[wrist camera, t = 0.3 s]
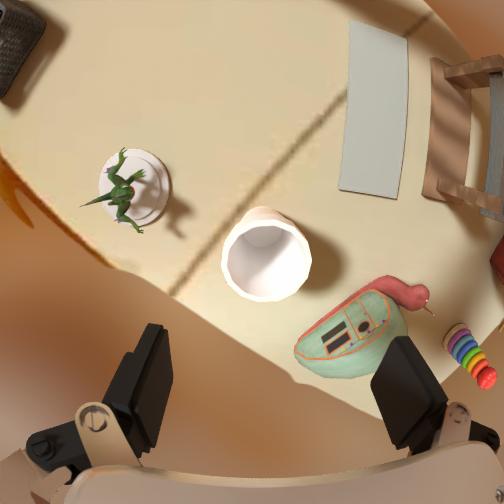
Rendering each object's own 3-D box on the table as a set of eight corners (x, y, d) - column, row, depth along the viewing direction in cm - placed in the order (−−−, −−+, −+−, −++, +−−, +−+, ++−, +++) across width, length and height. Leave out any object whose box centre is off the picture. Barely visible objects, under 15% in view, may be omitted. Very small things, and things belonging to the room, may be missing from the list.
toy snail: (308, 357, 50) (321, 412, 37) (284, 337, 48) (293, 395, 35) (411, 279, 44) (450, 320, 31) (394, 251, 42) (438, 290, 29)
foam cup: (254, 183, 38) (256, 200, 26) (306, 218, 40) (329, 251, 28) (218, 235, 41) (205, 274, 29) (268, 267, 43) (275, 315, 31)
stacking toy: (436, 348, 51) (472, 401, 34) (452, 321, 48) (494, 372, 31) (455, 347, 52) (489, 395, 34) (469, 322, 49) (509, 368, 31)
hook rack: (430, 58, 29) (491, 40, 14) (465, 77, 29) (525, 70, 14) (421, 194, 38) (485, 222, 23) (456, 203, 38) (516, 231, 23)
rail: (487, 57, 18) (500, 54, 15) (498, 66, 18) (511, 64, 15) (479, 213, 27) (493, 219, 24) (490, 216, 27) (504, 222, 24)
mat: (349, 21, 27) (350, 19, 27) (404, 40, 28) (406, 39, 27) (337, 188, 38) (339, 189, 37) (394, 197, 38) (396, 198, 38)
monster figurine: (177, 217, 40) (155, 240, 30) (111, 230, 40) (79, 254, 31) (161, 139, 35) (132, 138, 26) (94, 160, 36) (56, 168, 26)
